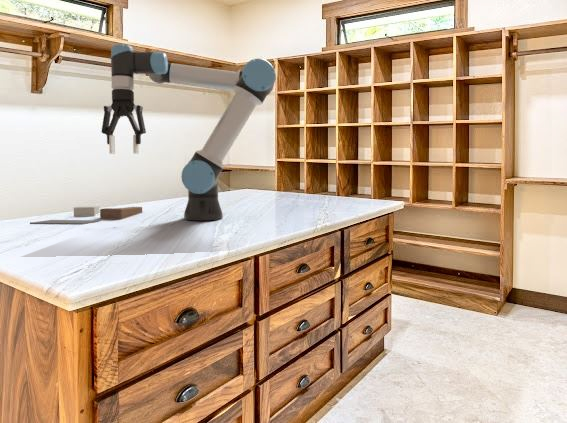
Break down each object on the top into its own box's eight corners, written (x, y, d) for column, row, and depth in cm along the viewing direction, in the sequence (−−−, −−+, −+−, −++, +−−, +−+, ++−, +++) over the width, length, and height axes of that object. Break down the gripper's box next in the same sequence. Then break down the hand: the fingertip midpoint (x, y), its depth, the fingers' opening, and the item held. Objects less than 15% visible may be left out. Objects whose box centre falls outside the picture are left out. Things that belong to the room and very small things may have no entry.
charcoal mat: (100, 221, 181) (100, 220, 181) (82, 224, 168) (82, 223, 168) (51, 220, 183) (51, 219, 183) (29, 223, 171) (29, 222, 170)
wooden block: (99, 208, 186) (123, 206, 204) (99, 220, 186) (123, 217, 204) (120, 209, 184) (142, 206, 202) (121, 220, 185) (142, 217, 202)
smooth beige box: (99, 218, 200) (99, 206, 200) (94, 219, 193) (94, 207, 192) (79, 218, 199) (79, 206, 199) (73, 219, 192) (73, 207, 191)
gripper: (155, 91, 173) (156, 153, 174) (100, 92, 175) (101, 154, 177) (146, 87, 165) (148, 152, 167) (89, 88, 168) (91, 153, 169)
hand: (124, 153), depth 172 cm, fingers open, 8 cm apart
